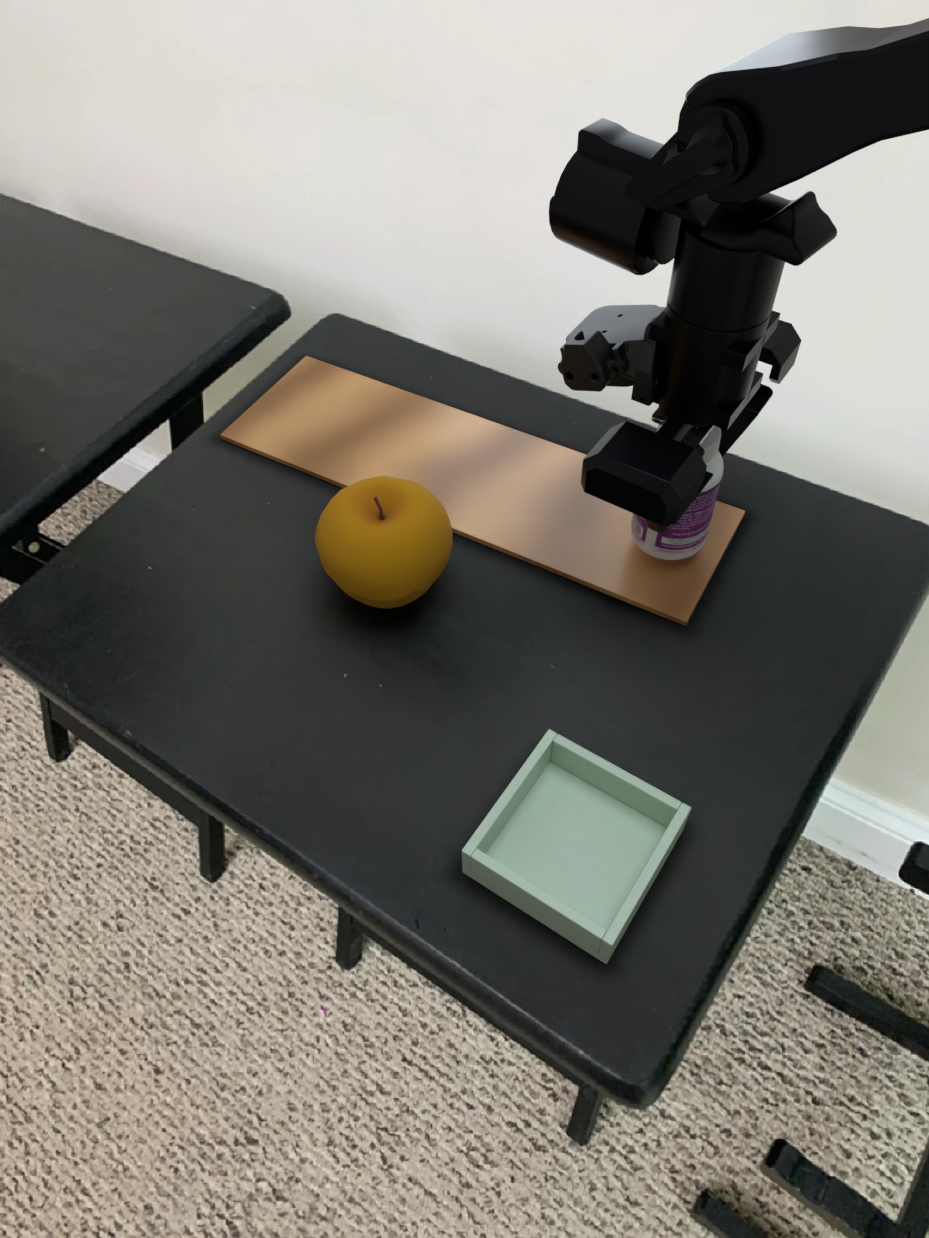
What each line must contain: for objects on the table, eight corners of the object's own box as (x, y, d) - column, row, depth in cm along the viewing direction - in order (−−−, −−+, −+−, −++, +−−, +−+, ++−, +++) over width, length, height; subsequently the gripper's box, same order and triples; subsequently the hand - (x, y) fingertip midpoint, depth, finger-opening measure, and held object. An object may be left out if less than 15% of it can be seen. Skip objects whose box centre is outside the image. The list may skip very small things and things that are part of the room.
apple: (433, 530, 68) (428, 436, 61) (472, 619, 63) (471, 528, 56) (314, 559, 67) (295, 466, 60) (344, 654, 62) (326, 564, 54)
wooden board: (744, 515, 69) (745, 510, 69) (685, 626, 63) (686, 622, 62) (306, 360, 82) (306, 355, 81) (220, 439, 75) (219, 434, 75)
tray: (683, 830, 53) (692, 807, 51) (606, 964, 49) (612, 945, 46) (546, 753, 57) (548, 728, 54) (462, 872, 52) (460, 850, 50)
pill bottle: (717, 526, 66) (747, 420, 59) (686, 574, 63) (713, 468, 56) (648, 499, 68) (669, 392, 61) (616, 543, 65) (633, 438, 58)
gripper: (663, 193, 59) (633, 393, 71) (506, 340, 49) (502, 541, 62) (833, 242, 55) (770, 445, 67) (697, 412, 45) (653, 612, 58)
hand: (674, 504), depth 63 cm, fingers closed on pill bottle, 5 cm apart
